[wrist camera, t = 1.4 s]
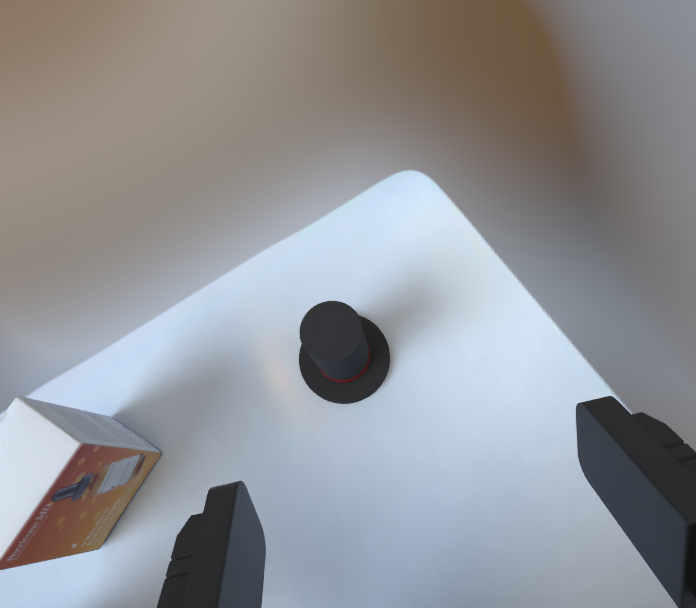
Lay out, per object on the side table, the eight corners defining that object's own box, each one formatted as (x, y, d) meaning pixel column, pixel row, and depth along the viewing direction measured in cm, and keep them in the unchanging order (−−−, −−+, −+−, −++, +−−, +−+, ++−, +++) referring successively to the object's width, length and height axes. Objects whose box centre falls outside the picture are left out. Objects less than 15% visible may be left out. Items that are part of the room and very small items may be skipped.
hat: (372, 303, 41) (366, 264, 33) (402, 386, 38) (402, 364, 31) (290, 331, 41) (264, 299, 33) (314, 416, 38) (292, 401, 31)
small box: (100, 550, 37) (-12, 578, 27) (45, 508, 38) (-80, 519, 28) (165, 451, 39) (83, 443, 29) (111, 414, 40) (14, 393, 30)
